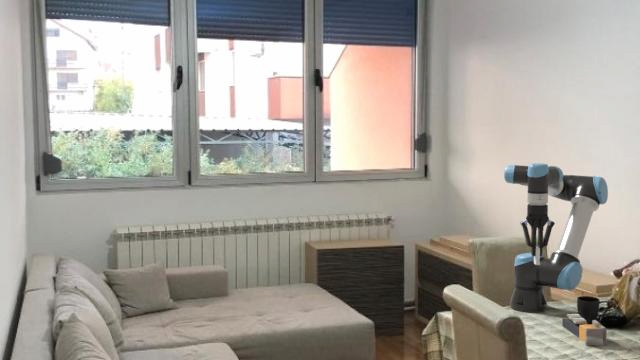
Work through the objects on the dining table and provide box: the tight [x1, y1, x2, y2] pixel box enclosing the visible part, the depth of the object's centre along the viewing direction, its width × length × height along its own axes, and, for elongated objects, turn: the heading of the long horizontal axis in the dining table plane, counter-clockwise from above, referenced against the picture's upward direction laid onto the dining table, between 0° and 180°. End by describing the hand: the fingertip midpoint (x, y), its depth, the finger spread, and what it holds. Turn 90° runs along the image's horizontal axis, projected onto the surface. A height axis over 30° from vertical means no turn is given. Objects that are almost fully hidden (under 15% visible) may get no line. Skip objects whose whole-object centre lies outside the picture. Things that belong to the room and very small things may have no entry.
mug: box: [576, 295, 611, 325], centre depth 275 cm, size 8×12×10 cm
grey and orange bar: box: [561, 317, 597, 343], centre depth 262 cm, size 19×5×5 cm, turn 6°
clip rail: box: [566, 313, 608, 346], centre depth 260 cm, size 22×7×6 cm, turn 179°
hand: (536, 264), depth 271 cm, fingers closed
